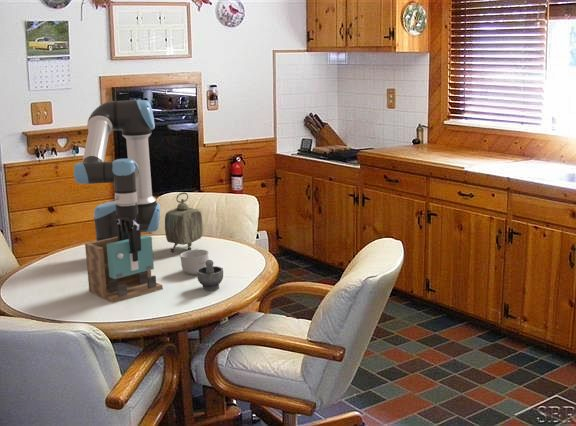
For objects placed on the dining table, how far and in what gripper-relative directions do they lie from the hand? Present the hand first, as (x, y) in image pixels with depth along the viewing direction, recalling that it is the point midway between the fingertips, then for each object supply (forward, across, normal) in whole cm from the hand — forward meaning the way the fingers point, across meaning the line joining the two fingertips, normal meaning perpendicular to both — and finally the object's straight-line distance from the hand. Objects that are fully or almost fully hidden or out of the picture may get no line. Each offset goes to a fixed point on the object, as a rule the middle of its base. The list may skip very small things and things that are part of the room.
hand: (131, 268), depth 266 cm
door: (+2, 0, 0) cm, 2 cm away
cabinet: (+9, -6, 0) cm, 11 cm away
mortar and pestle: (+10, +16, +22) cm, 29 cm away
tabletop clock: (+9, -33, +46) cm, 57 cm away
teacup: (+9, -5, +31) cm, 33 cm away
